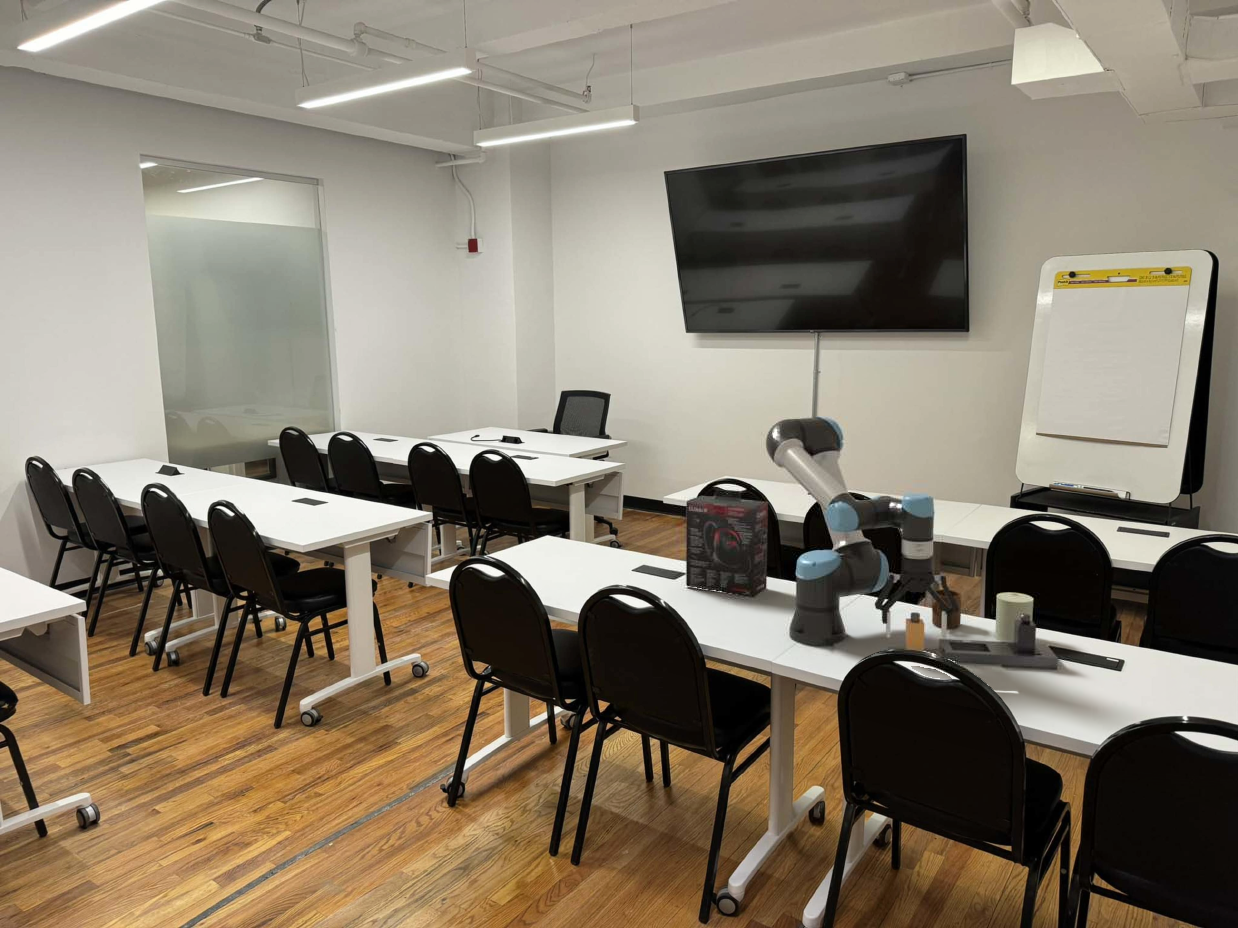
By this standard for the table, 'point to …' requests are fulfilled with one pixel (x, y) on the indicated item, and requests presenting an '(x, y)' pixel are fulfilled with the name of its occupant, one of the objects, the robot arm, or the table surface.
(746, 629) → the table surface
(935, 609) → the mug
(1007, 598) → the can
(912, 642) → the orange bottle
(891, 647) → the parts mat
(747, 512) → the headset box
